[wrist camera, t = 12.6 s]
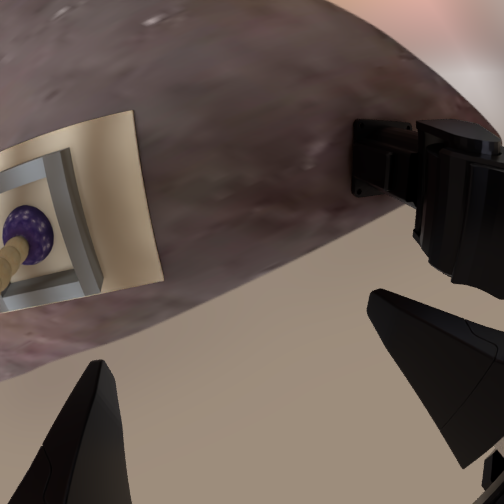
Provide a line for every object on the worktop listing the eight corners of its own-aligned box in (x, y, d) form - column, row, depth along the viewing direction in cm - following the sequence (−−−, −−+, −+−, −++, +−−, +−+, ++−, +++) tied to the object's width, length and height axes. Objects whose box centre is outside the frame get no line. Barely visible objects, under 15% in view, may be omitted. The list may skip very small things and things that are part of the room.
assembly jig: (133, 110, 15) (128, 109, 13) (163, 275, 21) (165, 296, 19) (-63, 185, 11) (-82, 196, 9) (-15, 311, 17) (-26, 331, 15)
